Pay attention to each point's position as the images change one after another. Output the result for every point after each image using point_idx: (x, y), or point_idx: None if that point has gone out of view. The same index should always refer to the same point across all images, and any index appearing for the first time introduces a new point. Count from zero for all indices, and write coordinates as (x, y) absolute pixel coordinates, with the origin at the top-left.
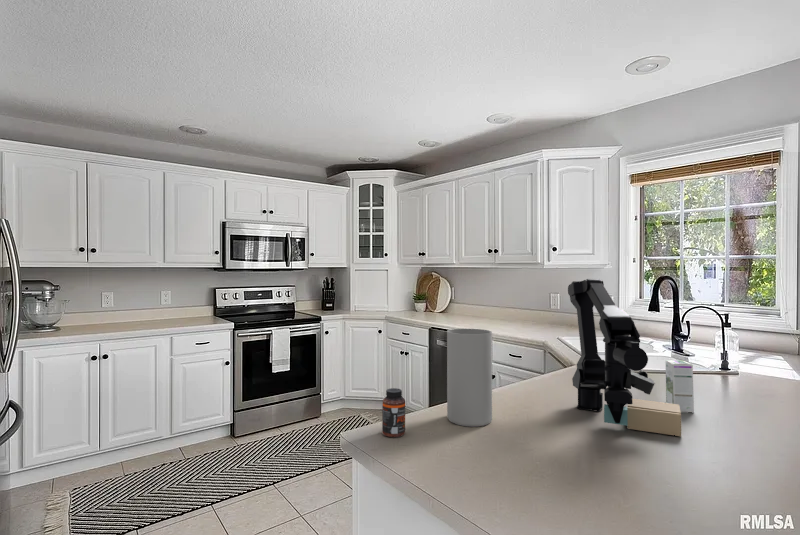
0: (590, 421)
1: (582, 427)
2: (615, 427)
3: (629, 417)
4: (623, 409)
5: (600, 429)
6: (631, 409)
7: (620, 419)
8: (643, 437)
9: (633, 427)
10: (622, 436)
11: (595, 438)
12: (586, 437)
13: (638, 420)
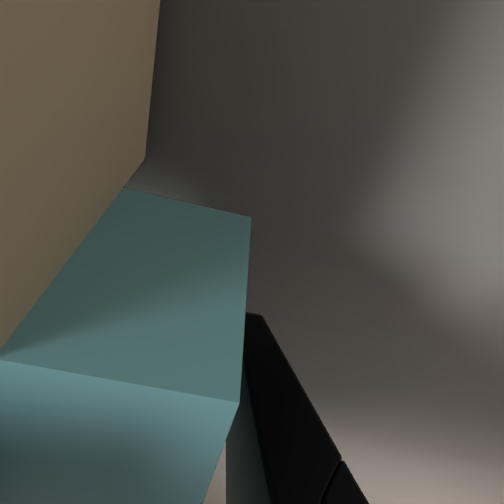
0: None
1: None
2: None
3: (95, 200)
4: (200, 445)
5: None
6: (7, 259)
7: (280, 351)
8: (394, 27)
9: (142, 96)
10: (375, 253)
11: (428, 420)
12: (410, 453)
13: (107, 34)
